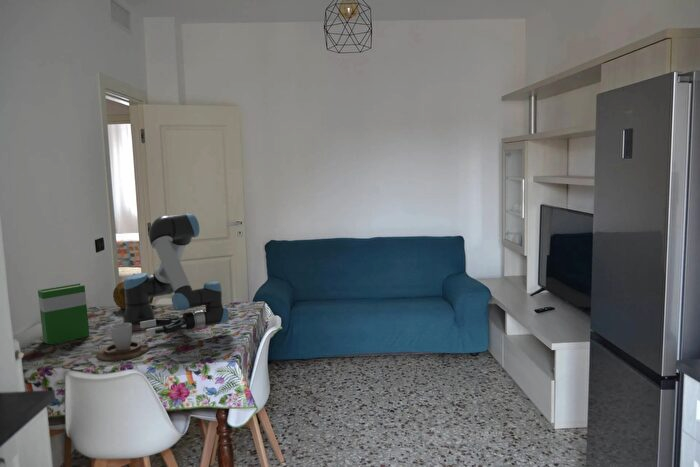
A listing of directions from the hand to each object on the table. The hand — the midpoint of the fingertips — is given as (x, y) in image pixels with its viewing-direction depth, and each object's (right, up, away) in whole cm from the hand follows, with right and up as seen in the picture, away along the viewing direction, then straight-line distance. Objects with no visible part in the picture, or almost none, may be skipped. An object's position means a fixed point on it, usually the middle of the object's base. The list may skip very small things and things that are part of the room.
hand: (143, 328), depth 232 cm
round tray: (-7, -9, -3) cm, 12 cm away
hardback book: (-43, -8, +20) cm, 48 cm away
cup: (-8, -8, -1) cm, 12 cm away
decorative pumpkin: (-32, -1, +72) cm, 79 cm away
